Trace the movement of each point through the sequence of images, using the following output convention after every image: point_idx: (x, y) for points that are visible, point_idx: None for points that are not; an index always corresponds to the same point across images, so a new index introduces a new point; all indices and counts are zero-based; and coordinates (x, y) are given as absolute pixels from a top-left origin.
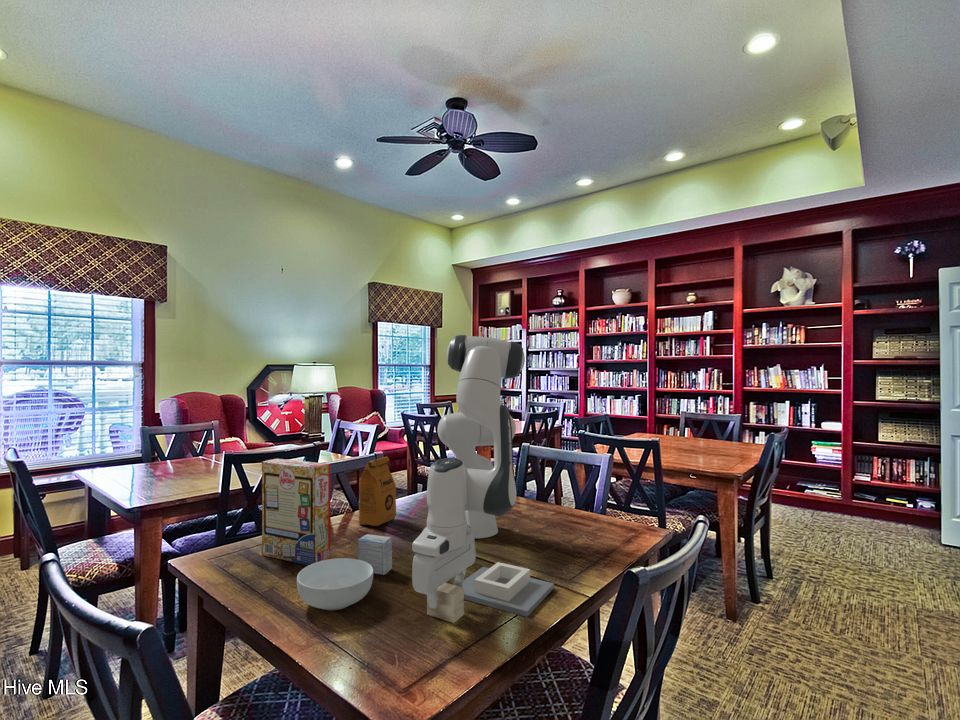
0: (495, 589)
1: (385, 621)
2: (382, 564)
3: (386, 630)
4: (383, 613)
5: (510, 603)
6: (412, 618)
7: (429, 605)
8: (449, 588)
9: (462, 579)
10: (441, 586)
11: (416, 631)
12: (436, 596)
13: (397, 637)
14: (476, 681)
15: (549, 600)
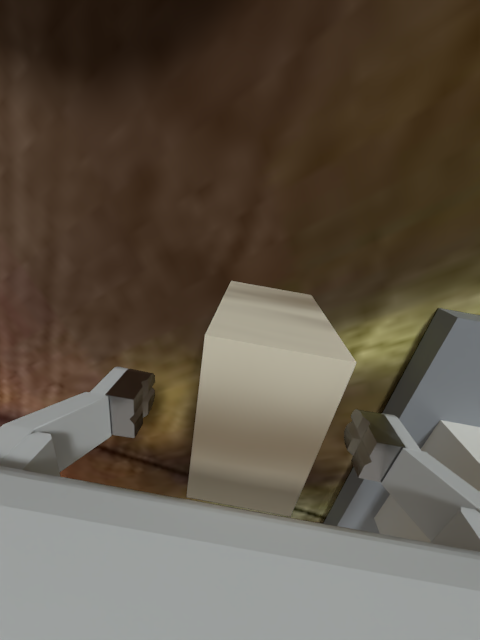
0: (413, 525)
1: (81, 103)
2: None
3: (28, 166)
4: (141, 20)
5: (361, 522)
6: (173, 233)
7: (114, 370)
8: (251, 463)
9: (397, 501)
10: (262, 417)
11: (100, 297)
12: (82, 454)
13: (24, 247)
14: None
15: None
